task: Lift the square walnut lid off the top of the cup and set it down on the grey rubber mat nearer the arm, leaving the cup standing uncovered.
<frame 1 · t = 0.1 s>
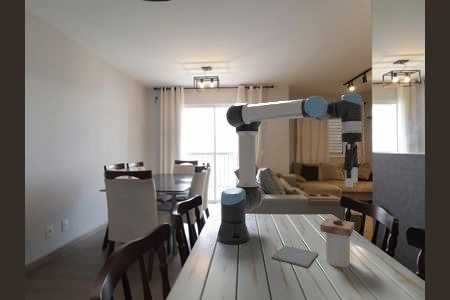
hand: (351, 184, 104), 28 cm above the table, fingers open, 13 cm apart
mat: (295, 256, 101), on the table
lid: (337, 230, 95), point 12 cm above the table, touching cup
cup: (337, 262, 96), on the table, touching lid
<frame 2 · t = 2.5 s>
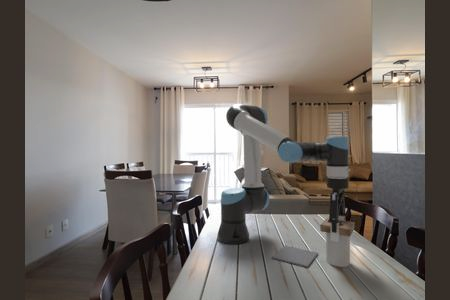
hand: (337, 236, 95), 10 cm above the table, fingers closed on lid, 10 cm apart
lid: (337, 230, 95), point 12 cm above the table, touching cup, gripper
everything else where it was.
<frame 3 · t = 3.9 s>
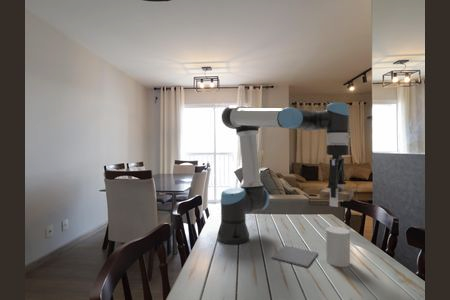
hand: (336, 203, 96), 22 cm above the table, fingers closed on lid, 10 cm apart
lid: (336, 197, 96), point 24 cm above the table, touching gripper
cup: (337, 262, 96), on the table
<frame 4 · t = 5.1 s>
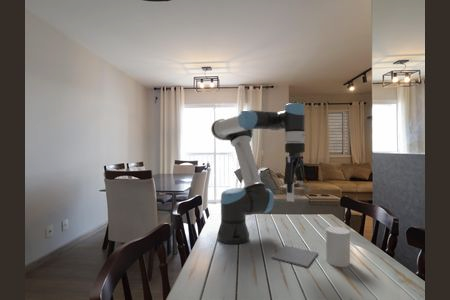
hand: (295, 198, 101), 23 cm above the table, fingers closed on lid, 10 cm apart
lid: (295, 192, 101), point 25 cm above the table, touching gripper
everything else where it was.
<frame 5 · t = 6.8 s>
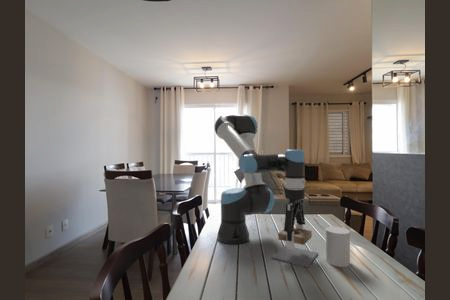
hand: (295, 244, 101), 5 cm above the table, fingers closed on lid, 10 cm apart
lid: (295, 238, 101), point 7 cm above the table, touching gripper
everything else where it was.
when the fingers open (2 cm above the table, at t = 7.9 s): lid drops 4 cm, resting on mat.
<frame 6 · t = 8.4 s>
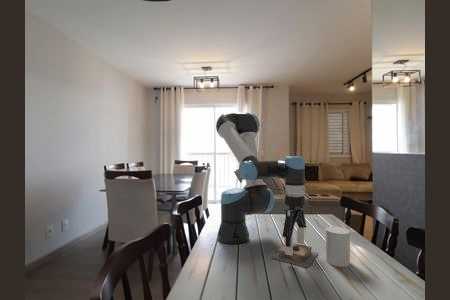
hand: (295, 248, 101), 3 cm above the table, fingers open, 13 cm apart
lid: (295, 254, 101), point 1 cm above the table, touching mat
everything else where it was.
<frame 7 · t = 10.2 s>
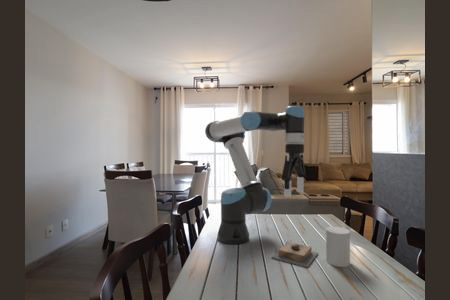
hand: (294, 194, 106), 24 cm above the table, fingers open, 13 cm apart
nothing on the table moved.
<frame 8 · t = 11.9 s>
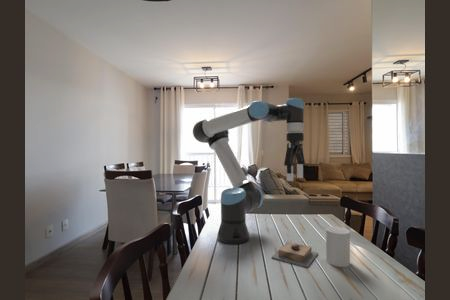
hand: (295, 179, 116), 29 cm above the table, fingers open, 13 cm apart
nothing on the table moved.
at the end: lid inside the target area on the mat (0.0 cm from its centre), point 0.6 cm above the mat's base; lid touching mat; cup tilted 0° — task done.
